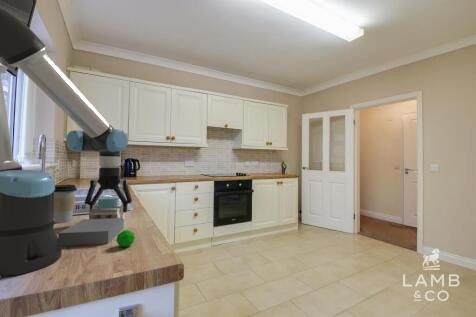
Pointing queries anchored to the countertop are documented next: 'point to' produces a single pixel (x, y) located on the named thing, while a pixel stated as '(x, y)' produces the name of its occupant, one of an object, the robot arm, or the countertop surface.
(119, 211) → the pallet
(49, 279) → the countertop surface
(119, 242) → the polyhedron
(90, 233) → the dock
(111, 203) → the teal block
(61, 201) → the coffee cup
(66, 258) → the countertop surface
